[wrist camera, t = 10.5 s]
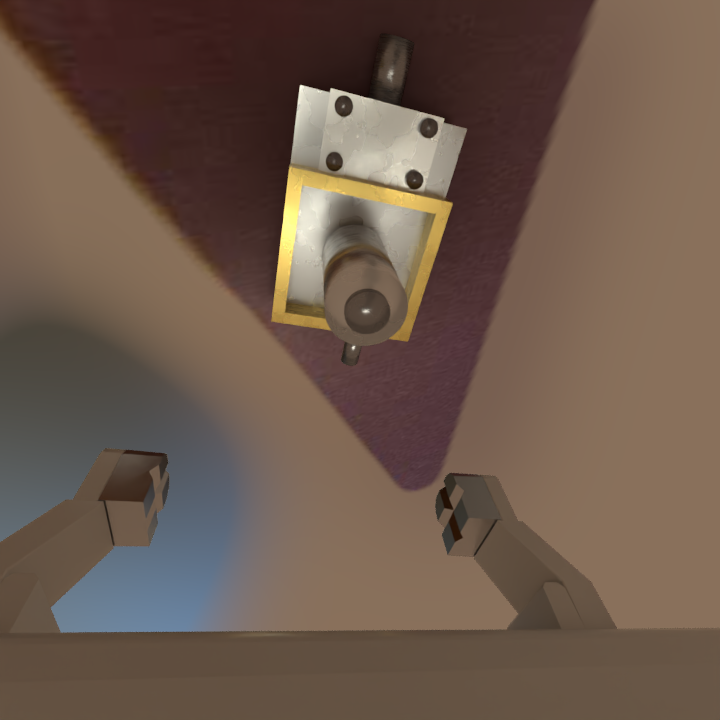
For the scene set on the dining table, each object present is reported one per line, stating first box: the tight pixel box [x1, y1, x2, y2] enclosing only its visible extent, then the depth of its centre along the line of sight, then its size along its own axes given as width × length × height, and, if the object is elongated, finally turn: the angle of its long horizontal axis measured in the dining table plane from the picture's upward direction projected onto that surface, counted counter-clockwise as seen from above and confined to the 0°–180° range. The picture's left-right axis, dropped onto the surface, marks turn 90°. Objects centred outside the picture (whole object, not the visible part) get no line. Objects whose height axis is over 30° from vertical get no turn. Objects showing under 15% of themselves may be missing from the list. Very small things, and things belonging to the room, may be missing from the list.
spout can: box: [322, 225, 408, 366], centre depth 30 cm, size 7×5×11 cm
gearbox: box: [271, 34, 467, 341], centre depth 32 cm, size 22×12×6 cm, turn 167°
